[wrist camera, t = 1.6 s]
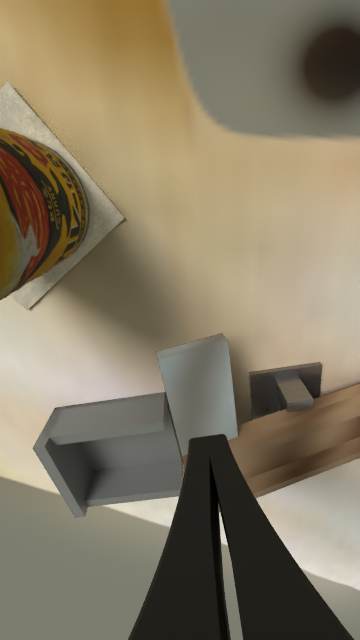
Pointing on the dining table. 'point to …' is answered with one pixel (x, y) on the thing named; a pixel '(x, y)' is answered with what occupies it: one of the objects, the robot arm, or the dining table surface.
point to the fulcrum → (284, 389)
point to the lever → (262, 433)
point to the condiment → (43, 205)
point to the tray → (112, 452)
